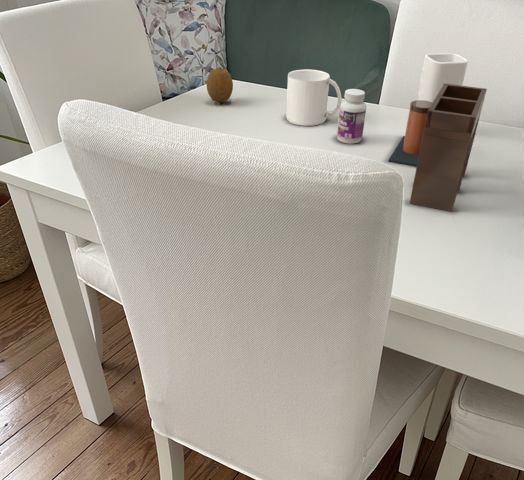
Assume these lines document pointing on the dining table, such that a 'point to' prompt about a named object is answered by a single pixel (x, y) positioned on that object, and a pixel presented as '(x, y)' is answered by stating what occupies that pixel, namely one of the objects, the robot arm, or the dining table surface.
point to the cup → (440, 73)
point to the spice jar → (416, 126)
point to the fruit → (219, 85)
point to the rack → (446, 145)
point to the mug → (309, 97)
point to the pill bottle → (351, 117)
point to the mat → (403, 156)
